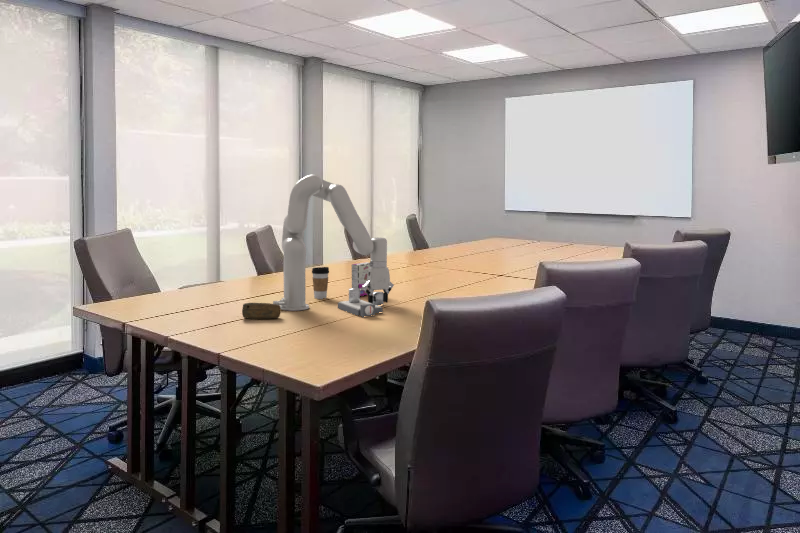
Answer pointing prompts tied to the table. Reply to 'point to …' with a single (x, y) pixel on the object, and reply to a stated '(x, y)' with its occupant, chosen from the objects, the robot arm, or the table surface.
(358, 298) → the cylinder
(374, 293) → the cylinder
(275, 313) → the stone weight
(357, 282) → the candy bar box
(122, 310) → the table surface
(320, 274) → the coffee cup
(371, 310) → the scale
